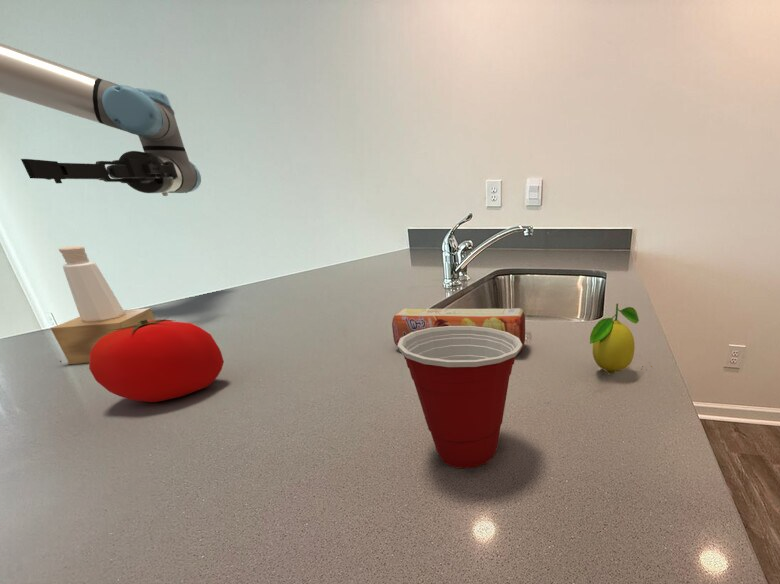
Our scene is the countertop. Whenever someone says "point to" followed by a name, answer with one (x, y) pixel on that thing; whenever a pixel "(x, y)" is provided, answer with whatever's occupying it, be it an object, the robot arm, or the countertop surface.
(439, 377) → the plastic cup
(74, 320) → the wood block
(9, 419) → the countertop surface
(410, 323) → the snack package
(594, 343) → the lemon
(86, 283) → the salt shaker
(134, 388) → the tomato
